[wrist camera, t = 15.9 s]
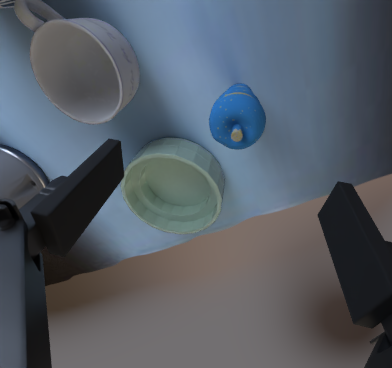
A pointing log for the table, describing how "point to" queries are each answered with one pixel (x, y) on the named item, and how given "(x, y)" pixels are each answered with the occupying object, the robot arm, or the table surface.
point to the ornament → (237, 118)
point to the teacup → (80, 63)
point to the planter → (7, 3)
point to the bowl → (174, 186)
